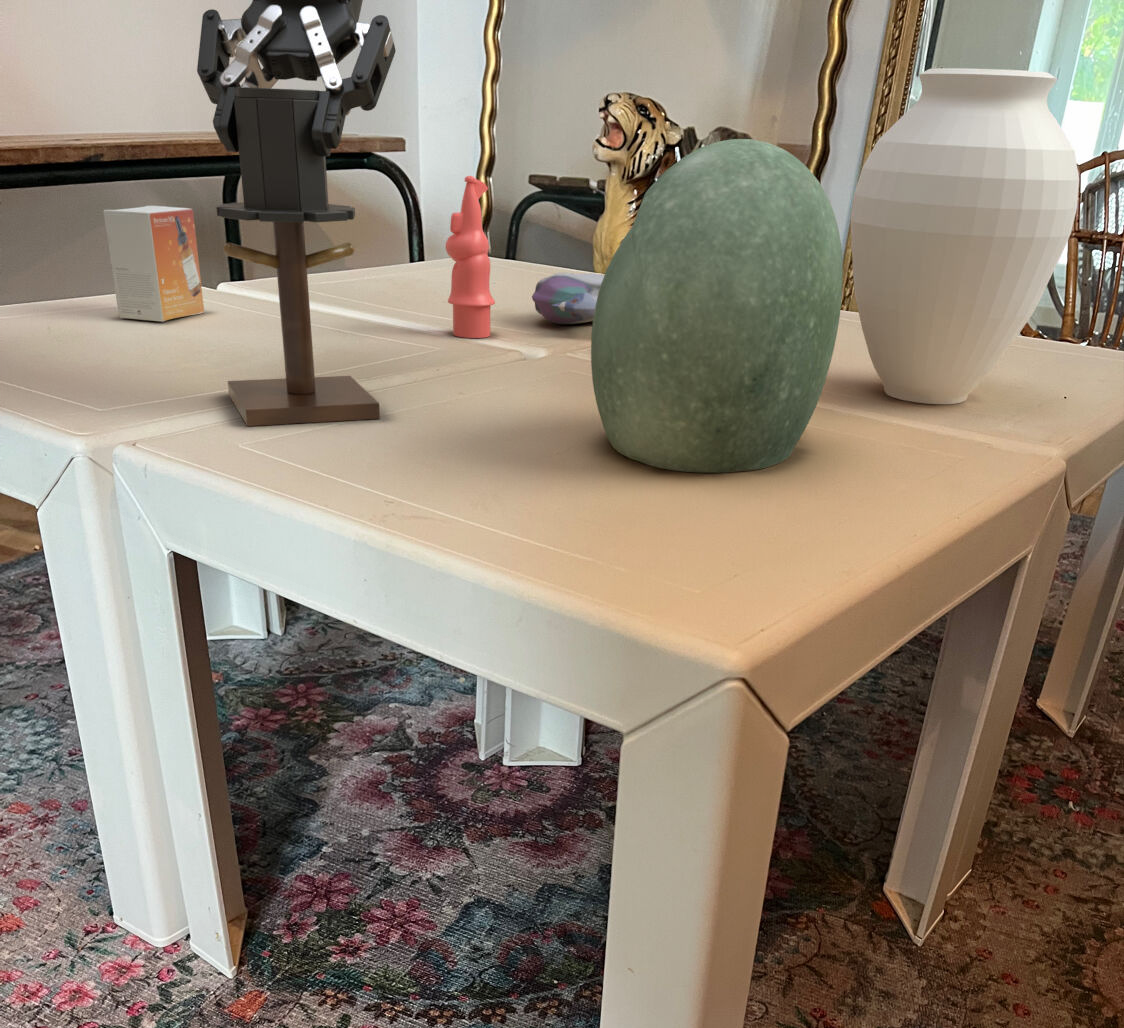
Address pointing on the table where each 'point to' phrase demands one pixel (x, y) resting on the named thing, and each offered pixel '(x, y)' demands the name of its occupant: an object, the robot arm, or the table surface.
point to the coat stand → (297, 345)
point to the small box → (154, 262)
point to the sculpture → (719, 312)
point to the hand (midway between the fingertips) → (274, 144)
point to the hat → (280, 159)
